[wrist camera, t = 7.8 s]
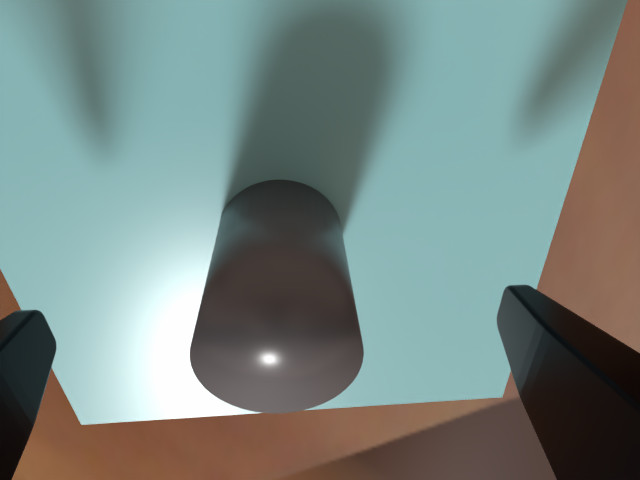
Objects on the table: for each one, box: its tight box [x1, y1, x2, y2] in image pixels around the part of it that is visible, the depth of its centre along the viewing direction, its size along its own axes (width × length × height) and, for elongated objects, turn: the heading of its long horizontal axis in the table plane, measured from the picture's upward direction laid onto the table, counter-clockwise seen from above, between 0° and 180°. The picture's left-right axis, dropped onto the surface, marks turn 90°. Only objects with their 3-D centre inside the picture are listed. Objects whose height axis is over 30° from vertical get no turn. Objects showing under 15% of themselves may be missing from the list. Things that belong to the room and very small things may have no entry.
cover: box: [0, 0, 627, 425], centre depth 10 cm, size 14×14×5 cm
